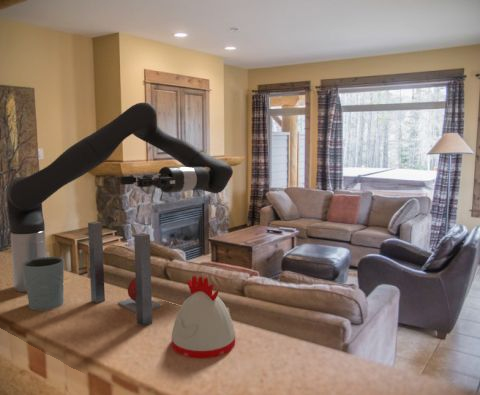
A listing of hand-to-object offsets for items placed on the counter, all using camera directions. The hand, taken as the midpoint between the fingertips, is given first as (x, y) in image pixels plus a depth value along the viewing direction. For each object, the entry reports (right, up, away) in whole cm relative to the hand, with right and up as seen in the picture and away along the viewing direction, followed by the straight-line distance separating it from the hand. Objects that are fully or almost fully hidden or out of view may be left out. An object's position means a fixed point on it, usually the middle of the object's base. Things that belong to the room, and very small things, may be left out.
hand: (129, 181), depth 119 cm
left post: (-10, -33, +4) cm, 34 cm away
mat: (+3, -33, +1) cm, 33 cm away
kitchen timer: (+22, -36, -21) cm, 47 cm away
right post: (+6, -35, -11) cm, 37 cm away
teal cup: (-23, -33, +1) cm, 41 cm away
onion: (+2, -33, +1) cm, 33 cm away
